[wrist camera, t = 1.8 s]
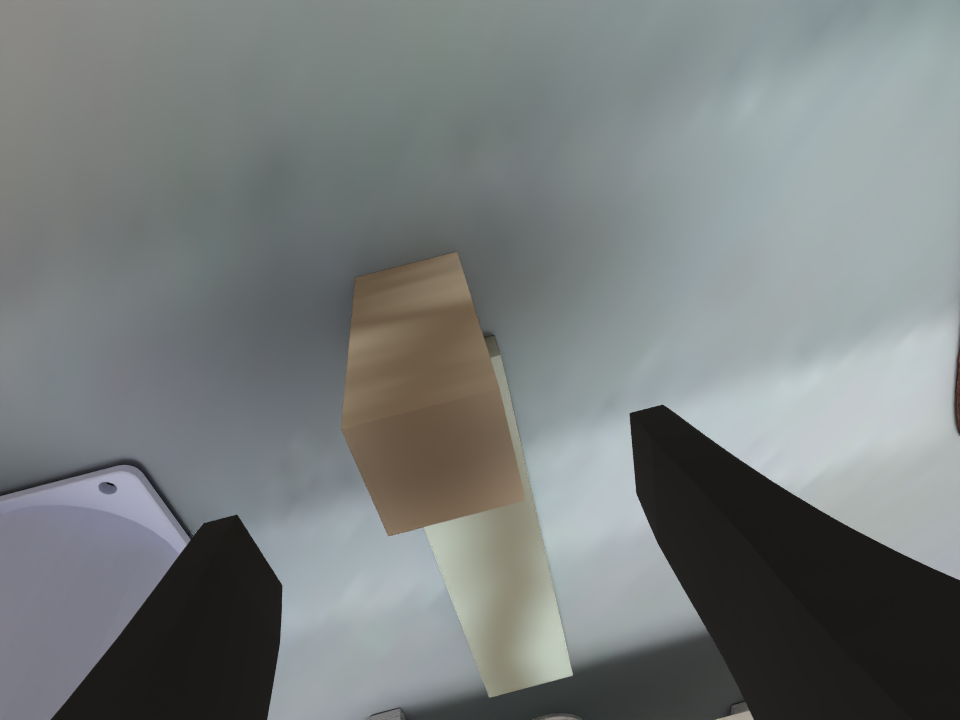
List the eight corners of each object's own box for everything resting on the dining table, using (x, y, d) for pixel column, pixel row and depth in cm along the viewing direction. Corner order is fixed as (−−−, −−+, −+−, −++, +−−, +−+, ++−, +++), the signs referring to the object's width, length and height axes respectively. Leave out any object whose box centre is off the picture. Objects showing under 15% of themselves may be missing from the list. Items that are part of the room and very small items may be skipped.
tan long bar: (485, 672, 28) (513, 852, 22) (338, 281, 17) (313, 435, 11) (566, 651, 28) (615, 825, 22) (474, 247, 17) (525, 381, 11)
